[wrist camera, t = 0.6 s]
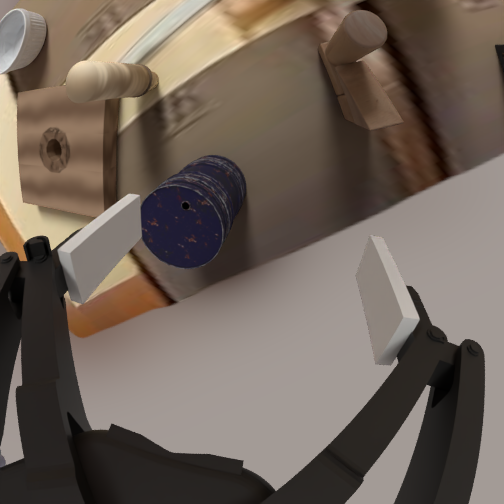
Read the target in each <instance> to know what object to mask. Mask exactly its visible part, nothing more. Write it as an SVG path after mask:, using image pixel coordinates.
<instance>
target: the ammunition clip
mask: <svg viewBox="0 0 504 504" xmlns="http://www.w3.org/2000/svg"><path fill="white" fill-rule="evenodd" d="M495 48H496V50H497V53H498V56H499V59H500V62H501V65H502V68H503V72H504V45H495Z"/></svg>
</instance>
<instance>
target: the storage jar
mask: <svg viewBox="0 0 504 504" xmlns="http://www.w3.org/2000/svg"><path fill="white" fill-rule="evenodd" d="M245 194H246V181H245V178H244V175H243V173H242V171H241V170H240V168H239V167H238V166H237V165H236V164H235V163H234V162H232V161H231V160H230V159H228V158H225V157H222V156H218V155H208V156H204V157H201V158H199V159H197V160H195V161H193V162H191V163H190V164H188V165H187V166H186V167H184V168H183V169H182V170H181V171H180V172H179V173H178V174H175V175H173V176H171V177H170V178H168V179H167V180H166V181H164V182H163V183H162V184H160V185H159V186H158V187H157V188H156V189H155V190H154V191H152V192H151V193H150V194H149V195H148V196H147V197H146V198H145V199H144V201H143V202H142V204H141V206H140V210H141V230H142V237H141V238H142V240H143V242H144V244H145V245H146V247H147V248H148V250H149V251H150V252H151V253H152V254H153V255H154V256H155V257H156V258H158V259H159V260H160V261H162V262H164V263H166V264H168V265H170V266H173V267H176V268H181V269H194V268H198V267H201V266H204V265H206V264H207V263H209V262H210V261H211V260H213V259H214V258H215V256H216V255H217V254H218V252H219V250H220V248H221V246H222V244H223V243H224V241H225V239H226V238H227V235H228V233H229V231H230V229H231V226H232V223H233V219H234V218H235V216H236V215H237V213H238V212H239V210H240V208H241V206H242V203H243V200H244V197H245Z"/></svg>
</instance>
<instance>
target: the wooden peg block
mask: <svg viewBox="0 0 504 504" xmlns="http://www.w3.org/2000/svg"><path fill="white" fill-rule="evenodd" d="M386 39H387V29H386V26H385V24H384V23H383V21H382V20H381V19H380V18H379V17H378V16H377V15H375V14H373V13H372V12H369V11H365V10H356V11H353V12H350V13H349V14H348V15H347V16H346V17H345V18H344V20H343V21H342V23H341V24H340V26H339V28H338V29H337V31H336V32H335V34H334V35H333V37H332V39H331V40H330V41H329V42H325V43H321V44H320V46H319V48H318V51H319V53H320V55H321V58H322V60H323V62H324V65H325V67H326V70H327V72H328V75H329V77H330V80H331V82H332V85H333V88H334V90H335V93H336V94H337V95H339V96H338V101H339V104H340V107H341V109H342V112H343V115H344V118H345V119H346V120H348V121H350V122H353V123H355V124H356V125H359V126H361V127H363V128H365V129H368V130H370V131H373V130H377V129H381V128H385V127H389V126H393V125H398V124H402V123H403V120H402V118H401V116H400V115H399V113H398V111H397V110H396V108H395V106H394V105H393V103H392V102H391V100H390V98H389V97H388V95H387V94H386V92H385V91H384V89H383V87H382V86H381V84H380V83H379V81H378V80H377V79H376V77H375V76H374V74H373V73H372V71H371V70H370V69H369V67H368V66H367V64H366V63H365V62H364V61H358V62H356V61H357V60H358V59H360V58H362V57H364V56H365V55H367V54H369V53H371V52H372V51H374V50H376V49H378V48H380V47H381V46H382V45H383V44H384V43H385V41H386Z"/></svg>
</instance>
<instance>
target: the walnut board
mask: <svg viewBox="0 0 504 504" xmlns="http://www.w3.org/2000/svg"><path fill="white" fill-rule="evenodd" d="M119 100H120V98H115V99H106V100H98V101H91V102H84V103H75V102H73V101H71V100H70V99H69V97H68V96H67V93H66V87H65V85H63V86H55V87H48V88H42V89H36V90H30V91H24V92H19V93H18V102H17V142H18V161H19V173H20V182H21V191H22V198H23V202H24V203H29V204H33V205H38V206H43V207H48V208H53V209H57V210H62V211H67V212H72V213H76V214H81V215H86V216H91V217H95V218H97V217H98V216H100V215H101V214H102V213H103V212H105V211H106V210H107V209H109V208H110V207H111V206H113V205H114V204H115V203H117V199H116V152H117V128H118V112H119ZM61 147H62V149H61Z"/></svg>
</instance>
